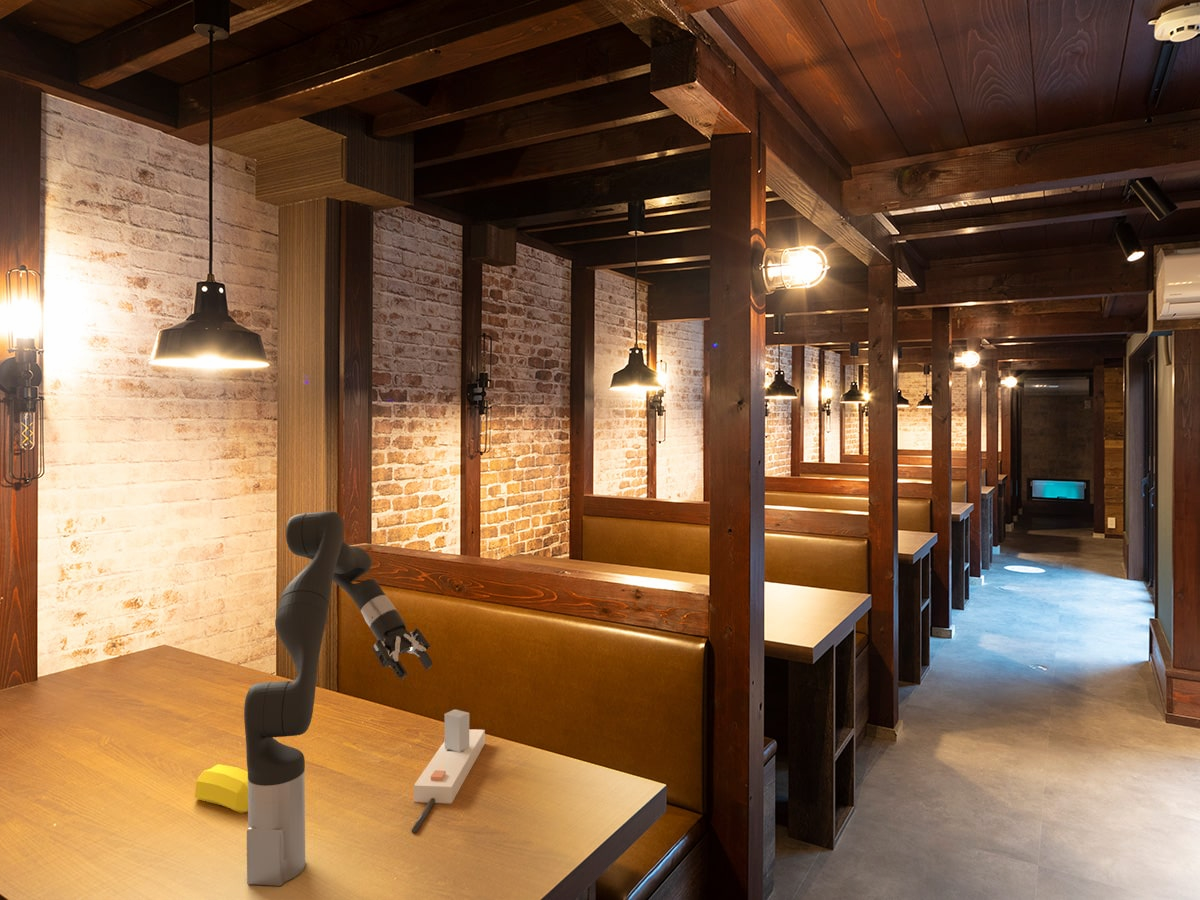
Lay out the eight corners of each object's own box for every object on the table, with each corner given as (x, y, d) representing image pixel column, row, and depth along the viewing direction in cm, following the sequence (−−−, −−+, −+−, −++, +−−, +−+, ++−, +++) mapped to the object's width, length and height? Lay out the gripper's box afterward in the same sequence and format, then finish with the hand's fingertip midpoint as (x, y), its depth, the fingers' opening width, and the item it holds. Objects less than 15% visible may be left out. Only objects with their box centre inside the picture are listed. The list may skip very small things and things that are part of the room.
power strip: (434, 834, 146) (434, 812, 146) (393, 832, 147) (393, 810, 147) (484, 743, 188) (484, 726, 188) (452, 742, 189) (452, 725, 188)
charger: (469, 753, 178) (469, 712, 177) (459, 759, 175) (459, 717, 174) (454, 749, 180) (454, 709, 180) (444, 754, 177) (444, 713, 177)
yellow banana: (217, 785, 166) (185, 801, 159) (217, 755, 166) (184, 769, 159) (277, 803, 158) (245, 820, 151) (276, 771, 158) (245, 787, 151)
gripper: (368, 615, 181) (403, 670, 175) (411, 603, 193) (445, 655, 188) (352, 634, 184) (387, 689, 178) (396, 621, 196) (429, 672, 191)
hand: (417, 671), depth 183 cm, fingers open, 8 cm apart
